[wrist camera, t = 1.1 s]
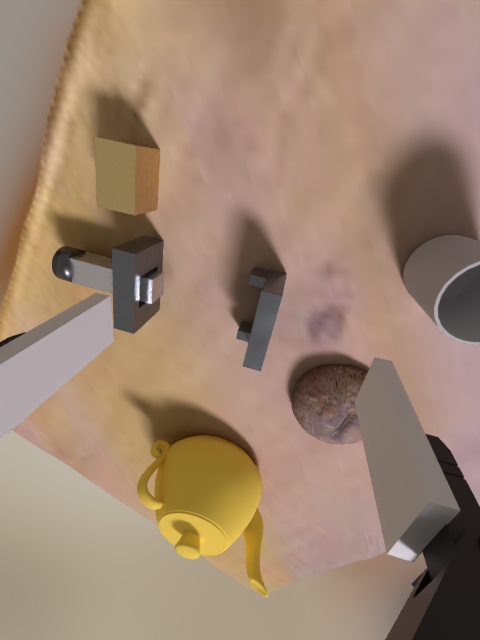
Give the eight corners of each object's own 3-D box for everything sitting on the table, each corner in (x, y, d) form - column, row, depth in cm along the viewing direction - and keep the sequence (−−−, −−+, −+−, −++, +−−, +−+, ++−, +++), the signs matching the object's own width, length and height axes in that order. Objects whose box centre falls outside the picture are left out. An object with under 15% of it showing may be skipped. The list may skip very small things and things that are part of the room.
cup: (463, 217, 27) (527, 235, 19) (505, 298, 30) (577, 343, 22) (388, 261, 30) (416, 292, 22) (432, 332, 33) (471, 382, 25)
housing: (142, 305, 39) (111, 330, 33) (143, 235, 34) (108, 249, 28) (267, 340, 37) (260, 372, 31) (287, 272, 33) (282, 294, 27)
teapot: (307, 484, 48) (308, 586, 36) (247, 520, 57) (231, 613, 45) (185, 401, 46) (142, 483, 34) (140, 453, 54) (93, 532, 42)
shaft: (77, 273, 37) (54, 283, 34) (75, 243, 36) (49, 250, 32) (164, 296, 36) (149, 309, 33) (166, 266, 34) (150, 277, 31)
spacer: (125, 201, 33) (97, 206, 29) (124, 141, 30) (94, 136, 26) (157, 209, 33) (134, 215, 28) (160, 149, 30) (135, 145, 26)
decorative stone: (397, 373, 36) (411, 404, 31) (365, 438, 42) (372, 473, 37) (303, 352, 37) (303, 378, 33) (284, 418, 43) (282, 449, 38)
